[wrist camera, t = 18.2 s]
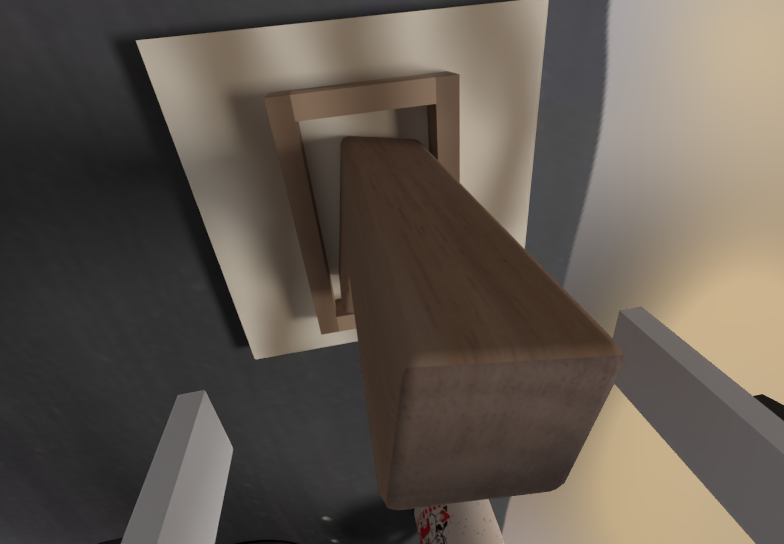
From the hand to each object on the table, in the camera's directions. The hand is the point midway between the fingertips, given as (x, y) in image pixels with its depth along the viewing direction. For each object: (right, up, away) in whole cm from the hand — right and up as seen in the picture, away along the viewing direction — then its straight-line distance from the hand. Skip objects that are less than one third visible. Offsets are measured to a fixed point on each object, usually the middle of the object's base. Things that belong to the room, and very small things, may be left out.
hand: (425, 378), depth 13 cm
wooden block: (-2, +7, +12) cm, 14 cm away
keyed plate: (-2, +8, +13) cm, 15 cm away
